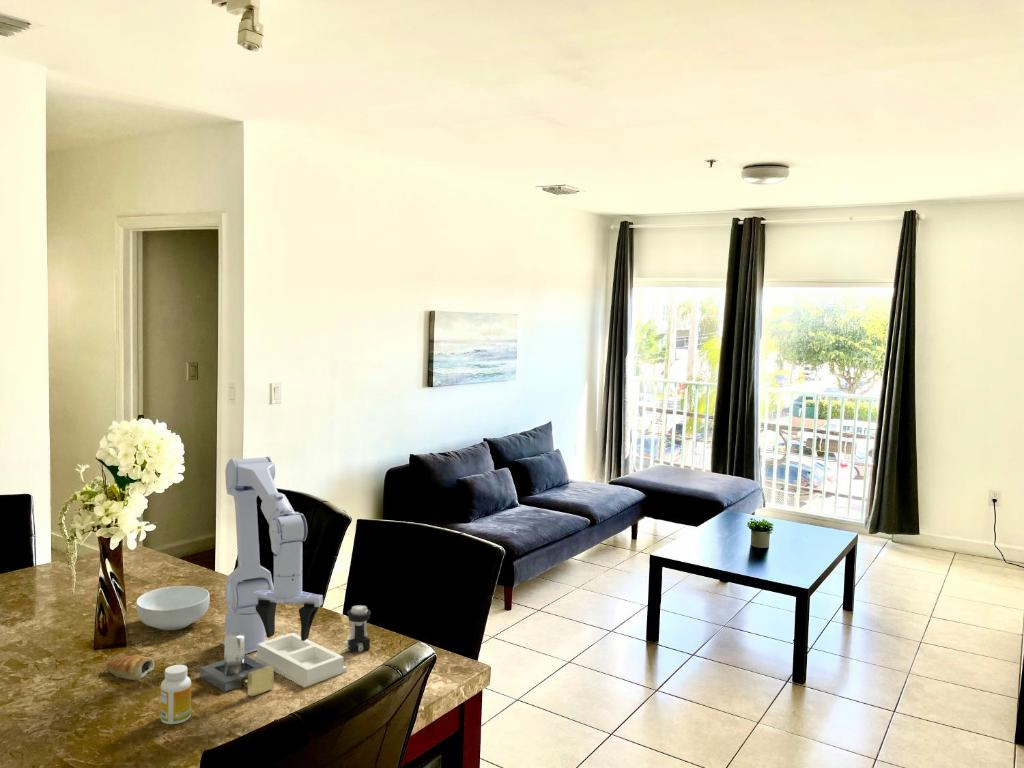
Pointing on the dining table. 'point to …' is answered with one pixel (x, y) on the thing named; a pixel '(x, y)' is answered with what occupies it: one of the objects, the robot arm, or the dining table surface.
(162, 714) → the supplement bottle
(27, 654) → the dining table surface
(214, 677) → the socket
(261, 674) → the cream block
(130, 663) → the pastry
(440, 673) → the dining table surface
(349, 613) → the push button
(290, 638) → the tray
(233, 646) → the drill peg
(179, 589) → the cereal bowl
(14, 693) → the dining table surface
